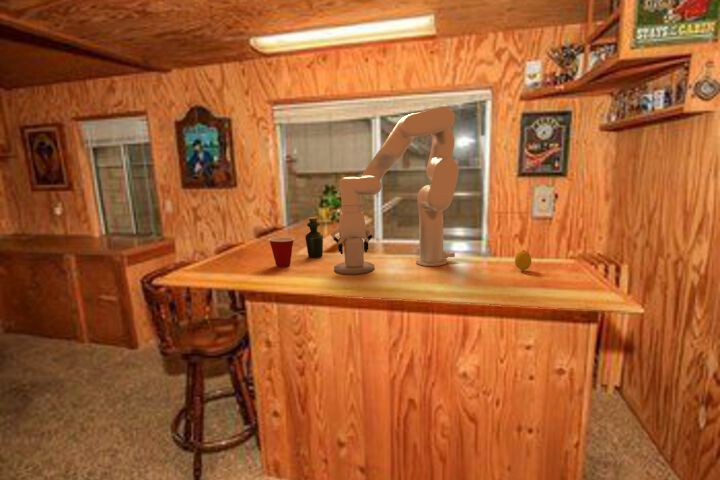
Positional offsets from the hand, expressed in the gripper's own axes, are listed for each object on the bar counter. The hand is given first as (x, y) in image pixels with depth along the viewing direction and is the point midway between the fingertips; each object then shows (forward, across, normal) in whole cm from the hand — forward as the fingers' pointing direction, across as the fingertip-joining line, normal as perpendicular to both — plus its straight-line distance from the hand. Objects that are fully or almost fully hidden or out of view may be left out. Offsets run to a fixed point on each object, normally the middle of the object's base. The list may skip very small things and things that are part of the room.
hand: (353, 252), depth 154 cm
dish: (+7, 0, 0) cm, 7 cm away
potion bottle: (+7, +14, -27) cm, 31 cm away
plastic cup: (+7, +28, -15) cm, 33 cm away
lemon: (+7, -59, +22) cm, 63 cm away
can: (+6, 0, 0) cm, 6 cm away
